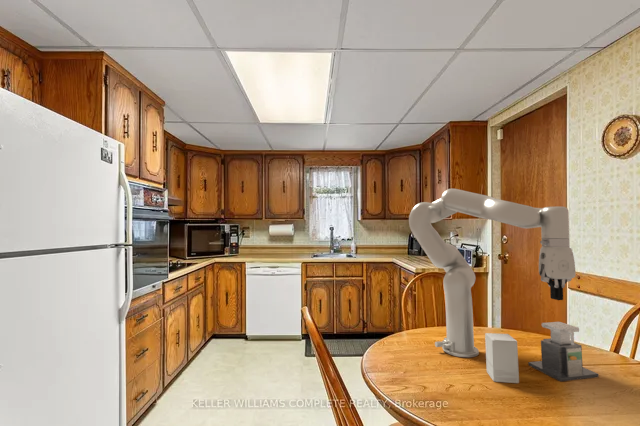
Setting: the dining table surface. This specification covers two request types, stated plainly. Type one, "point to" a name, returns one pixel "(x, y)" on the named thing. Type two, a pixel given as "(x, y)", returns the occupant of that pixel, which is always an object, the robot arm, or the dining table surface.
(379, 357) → the dining table surface
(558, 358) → the tester
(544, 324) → the grey flanged block
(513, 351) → the supplement box
